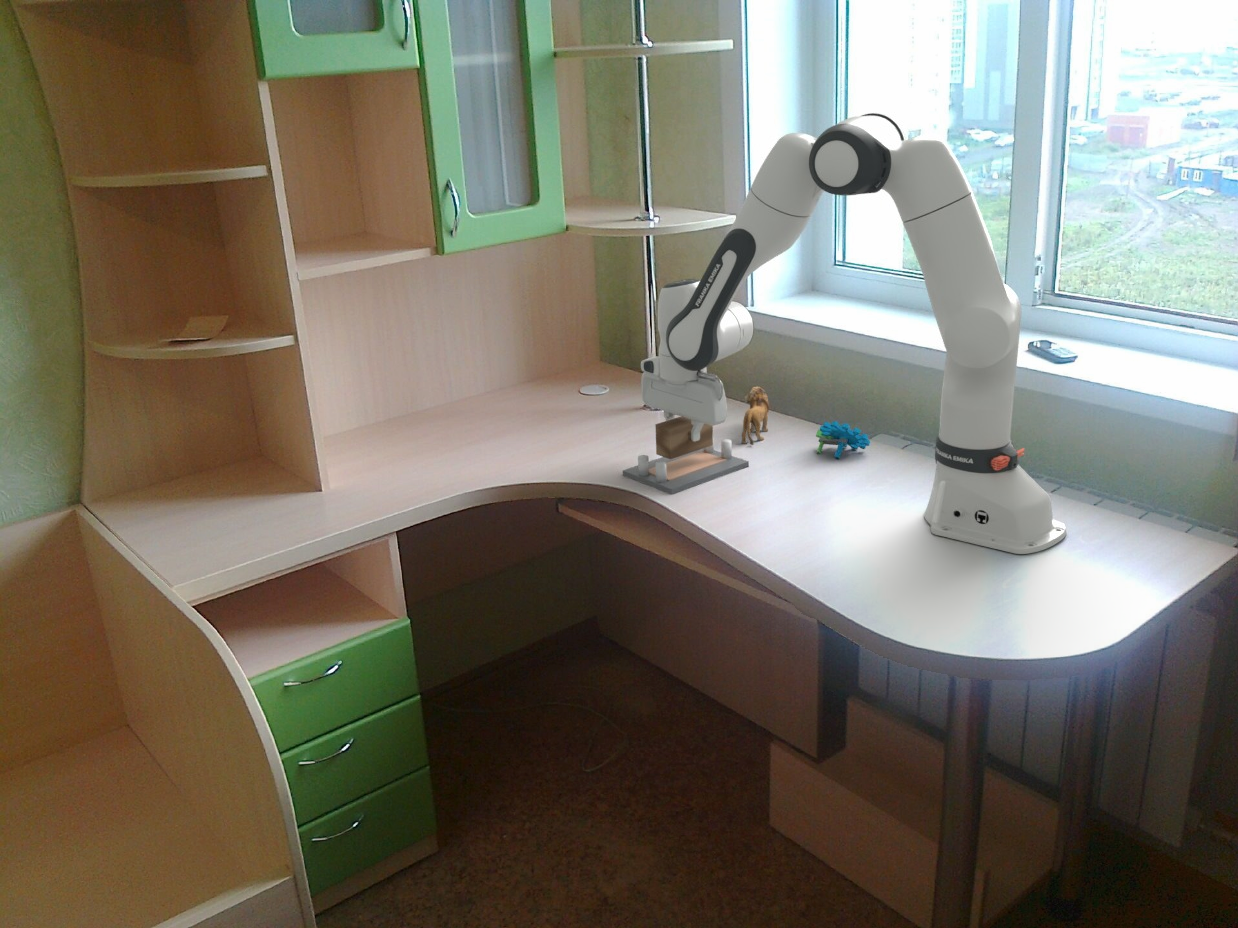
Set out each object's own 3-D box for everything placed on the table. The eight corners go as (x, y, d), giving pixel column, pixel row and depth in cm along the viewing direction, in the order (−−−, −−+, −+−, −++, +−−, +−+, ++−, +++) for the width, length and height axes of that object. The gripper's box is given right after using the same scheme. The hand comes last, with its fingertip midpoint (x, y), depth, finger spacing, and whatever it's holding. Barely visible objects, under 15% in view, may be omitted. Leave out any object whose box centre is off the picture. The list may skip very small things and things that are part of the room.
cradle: (748, 466, 211) (748, 444, 209) (671, 494, 199) (671, 471, 197) (698, 449, 221) (698, 428, 219) (622, 475, 209) (621, 453, 208)
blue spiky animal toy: (879, 445, 214) (857, 419, 207) (870, 471, 212) (846, 446, 206) (832, 441, 222) (808, 416, 215) (822, 467, 220) (798, 442, 213)
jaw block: (712, 445, 210) (712, 415, 208) (670, 459, 204) (669, 429, 202) (698, 440, 213) (698, 411, 211) (656, 454, 207) (655, 424, 205)
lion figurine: (745, 424, 235) (744, 384, 232) (769, 424, 234) (770, 384, 231) (740, 447, 221) (739, 405, 218) (766, 447, 220) (766, 405, 217)
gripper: (734, 373, 197) (735, 445, 202) (659, 354, 212) (661, 421, 217) (709, 380, 193) (710, 453, 198) (634, 360, 208) (637, 429, 213)
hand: (684, 436), depth 208 cm, fingers closed on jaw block, 4 cm apart
